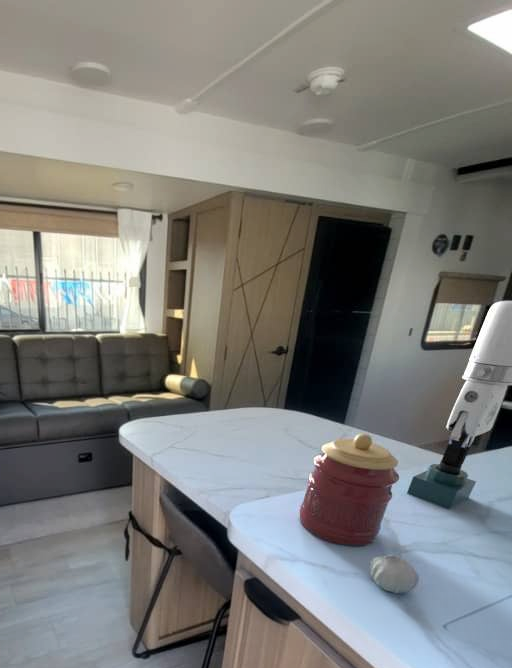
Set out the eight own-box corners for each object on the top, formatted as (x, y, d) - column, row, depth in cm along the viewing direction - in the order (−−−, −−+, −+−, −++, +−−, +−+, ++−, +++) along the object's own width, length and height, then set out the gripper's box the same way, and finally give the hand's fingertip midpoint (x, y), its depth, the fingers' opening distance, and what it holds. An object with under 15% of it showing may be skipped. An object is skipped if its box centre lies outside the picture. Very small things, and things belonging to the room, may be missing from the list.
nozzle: (441, 467, 86) (445, 458, 86) (460, 474, 84) (464, 465, 83) (434, 471, 85) (437, 462, 84) (453, 477, 82) (457, 468, 81)
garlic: (360, 585, 59) (371, 556, 56) (369, 568, 62) (380, 540, 60) (407, 606, 55) (421, 576, 53) (415, 587, 59) (428, 558, 56)
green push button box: (427, 483, 92) (437, 459, 90) (468, 498, 86) (480, 472, 84) (406, 493, 87) (416, 467, 84) (449, 509, 81) (461, 482, 78)
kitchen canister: (393, 540, 70) (432, 445, 62) (335, 553, 65) (369, 452, 58) (335, 505, 81) (361, 419, 73) (282, 514, 76) (304, 424, 69)
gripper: (500, 380, 69) (457, 478, 77) (528, 374, 76) (486, 463, 84) (450, 372, 74) (415, 464, 82) (480, 367, 82) (446, 451, 90)
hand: (451, 463), depth 83 cm, fingers closed
